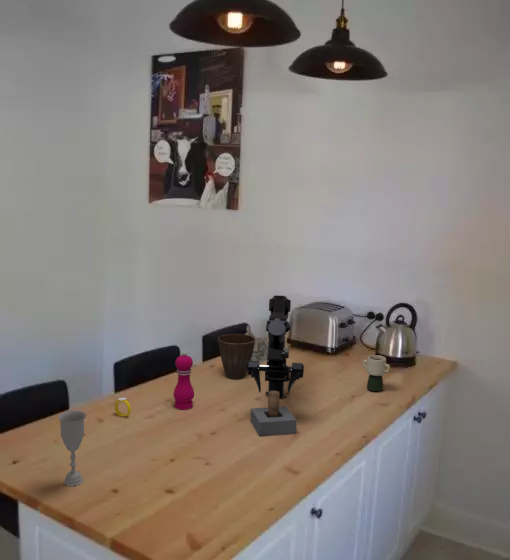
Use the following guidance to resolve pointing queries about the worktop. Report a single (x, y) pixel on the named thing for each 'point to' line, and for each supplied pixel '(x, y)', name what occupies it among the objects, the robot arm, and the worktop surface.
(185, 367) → the pepper mill
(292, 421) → the socket block
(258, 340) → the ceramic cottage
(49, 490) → the worktop surface
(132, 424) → the worktop surface
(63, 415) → the chalice
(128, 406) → the yellow ring
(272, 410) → the walnut pin
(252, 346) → the plant pot
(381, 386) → the cream and green vessel
